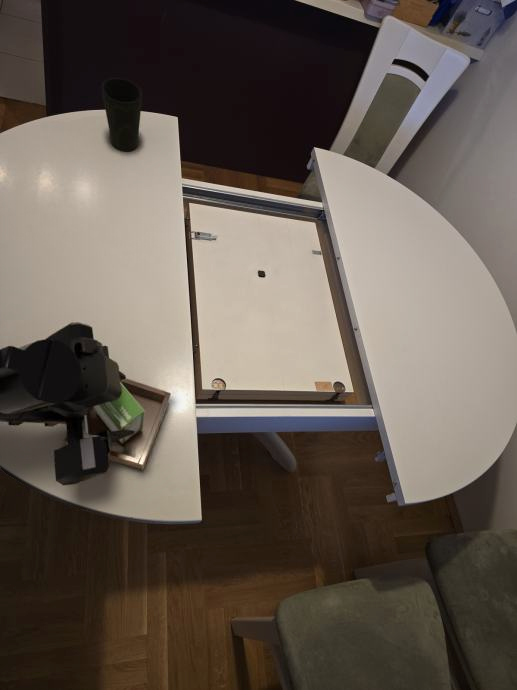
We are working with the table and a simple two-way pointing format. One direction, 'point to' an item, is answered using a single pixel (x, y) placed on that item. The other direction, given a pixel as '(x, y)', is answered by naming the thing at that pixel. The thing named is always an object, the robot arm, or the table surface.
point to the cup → (122, 112)
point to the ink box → (122, 414)
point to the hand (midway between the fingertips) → (127, 405)
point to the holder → (141, 442)
